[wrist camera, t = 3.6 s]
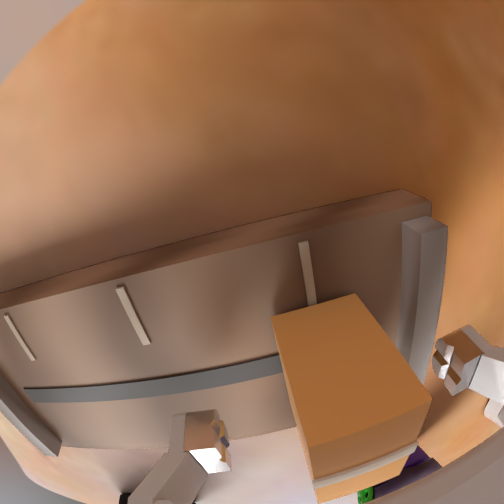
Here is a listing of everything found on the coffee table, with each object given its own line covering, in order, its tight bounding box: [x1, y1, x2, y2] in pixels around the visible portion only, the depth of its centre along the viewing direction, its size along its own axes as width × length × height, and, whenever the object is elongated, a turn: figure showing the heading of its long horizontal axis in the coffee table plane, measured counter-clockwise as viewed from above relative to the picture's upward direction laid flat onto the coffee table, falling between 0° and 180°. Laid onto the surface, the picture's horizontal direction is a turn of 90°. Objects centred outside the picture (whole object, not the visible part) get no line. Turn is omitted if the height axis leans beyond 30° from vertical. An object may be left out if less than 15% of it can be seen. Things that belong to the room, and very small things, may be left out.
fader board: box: [0, 189, 448, 457], centre depth 11 cm, size 22×10×3 cm, turn 102°
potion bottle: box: [357, 445, 442, 504], centre depth 15 cm, size 9×9×12 cm
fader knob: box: [270, 293, 433, 504], centre depth 8 cm, size 3×5×5 cm, turn 12°
